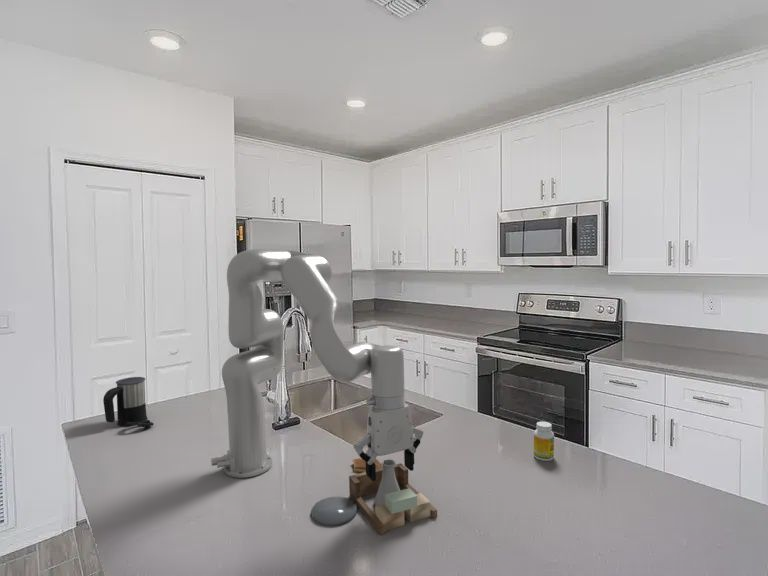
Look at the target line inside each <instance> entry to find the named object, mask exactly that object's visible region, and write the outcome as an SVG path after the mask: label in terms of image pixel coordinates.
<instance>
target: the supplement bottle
mask: <svg viewBox="0 0 768 576" xmlns="http://www.w3.org/2000/svg"><path fill="white" fill-rule="evenodd" d="M552 430H553V425H552V423H550V422H548V421H537V422H536V429H535V430H534V432H533V457H535V459H537V460H539V461H543V462H548V461H553V459H554V455H555V434H554V432H553V431H552Z"/></svg>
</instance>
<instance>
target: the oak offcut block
mask: <svg viewBox="0 0 768 576" xmlns="http://www.w3.org/2000/svg"><path fill="white" fill-rule="evenodd" d="M374 506H375V505H374ZM374 514H375V515H376V516H377V517H378V519H379V520H380V521H381V522H382V523H383V525H384V526H385V532H386V531H390V530H394V529H396V528H398V527H401V526H405V516H404V511H401V512H397V513H393V514H391V512H390V511H389V510H388V509H387V507H386V506H385V504H382V505H379V506H375V507H374Z"/></svg>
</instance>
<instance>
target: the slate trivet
mask: <svg viewBox="0 0 768 576" xmlns="http://www.w3.org/2000/svg"><path fill="white" fill-rule="evenodd" d="M357 511H358V506H357V505H356V504H355V502H354V501H353V500H352V499H351V498H348V497H344V496H330V497H326V498H322V499H320V500H319V501H317V502H316V503H315V504H314V505H312V508H311V517H312V519H313V520H314V521H315V522H316V523H318V524H320V525H322V526H329V527H330V526H331V527H332V526H333V527H335V526H341V525H343V524H346V523H350V521H352V520H353V519H354V518H355V516H356V515H357Z"/></svg>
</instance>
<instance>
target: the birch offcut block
mask: <svg viewBox="0 0 768 576" xmlns="http://www.w3.org/2000/svg"><path fill="white" fill-rule="evenodd" d="M418 493H419V494H416V495H417V507H415V508H412V509H408V510H404V518H405V519H406V520H408V521H409V523H414V522H416V521H417V522H418V521H420V520H423V519H425V518H428V517H431V516H430V504H431V501H430V500H429V499H428V498H427V497H426V496H425V495H424V494H423V493H421V492H418Z"/></svg>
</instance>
